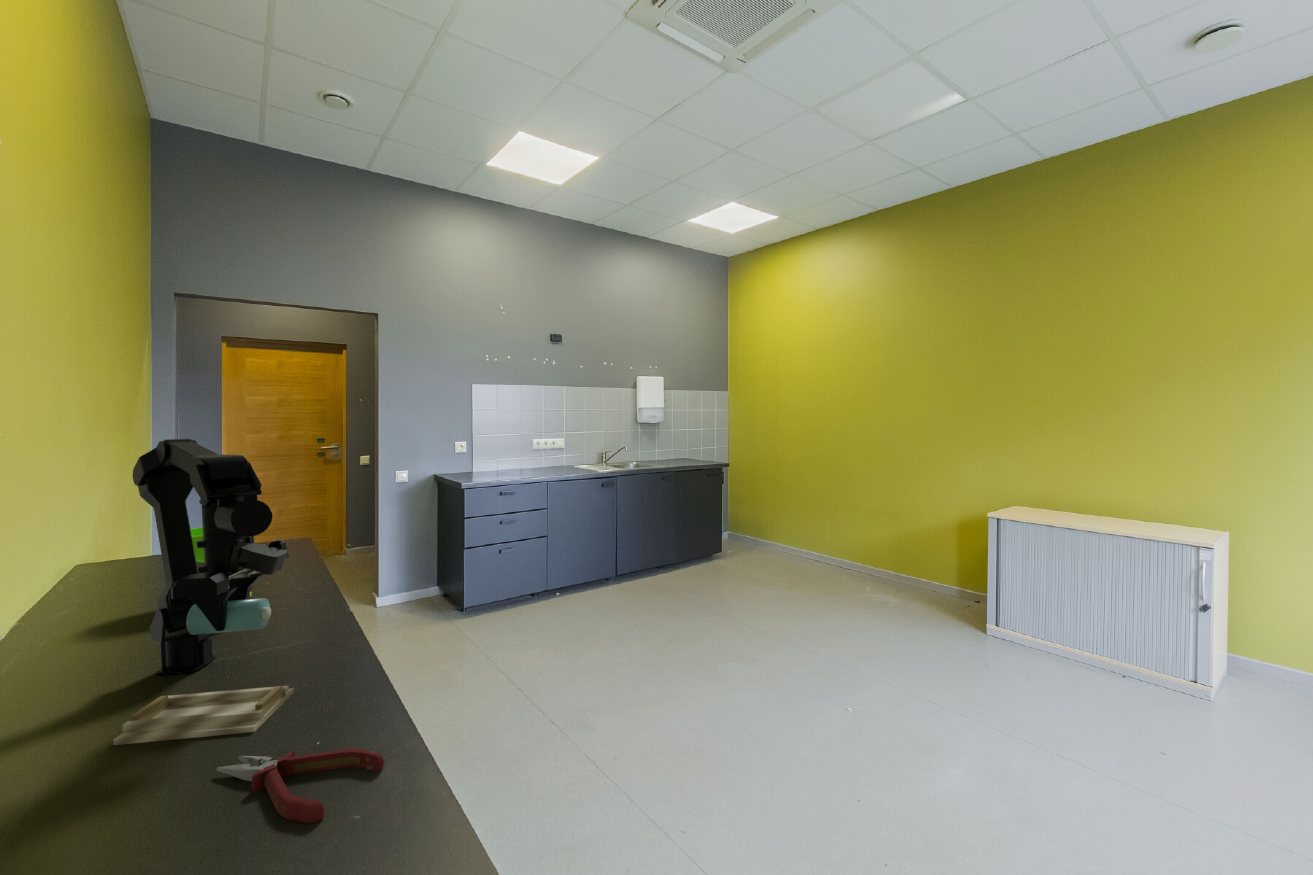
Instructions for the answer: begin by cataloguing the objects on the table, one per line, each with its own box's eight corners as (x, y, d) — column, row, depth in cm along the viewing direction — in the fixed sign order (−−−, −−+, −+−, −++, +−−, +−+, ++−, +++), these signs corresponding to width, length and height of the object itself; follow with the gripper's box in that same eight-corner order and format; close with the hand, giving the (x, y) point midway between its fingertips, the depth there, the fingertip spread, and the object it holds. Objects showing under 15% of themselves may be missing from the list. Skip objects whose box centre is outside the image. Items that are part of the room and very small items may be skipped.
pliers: (268, 747, 79) (268, 728, 79) (389, 768, 74) (388, 749, 73) (180, 801, 68) (179, 780, 68) (314, 831, 63) (313, 808, 62)
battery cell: (187, 639, 91) (185, 608, 91) (206, 628, 96) (204, 599, 96) (261, 633, 93) (259, 602, 93) (276, 622, 98) (274, 593, 98)
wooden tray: (113, 745, 79) (112, 726, 79) (172, 702, 91) (172, 687, 91) (254, 731, 82) (253, 714, 82) (294, 692, 94) (293, 677, 94)
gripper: (248, 539, 86) (254, 640, 86) (302, 519, 104) (306, 603, 105) (165, 544, 84) (171, 648, 84) (235, 523, 102) (239, 608, 103)
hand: (229, 624), depth 94 cm, fingers closed on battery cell, 5 cm apart
